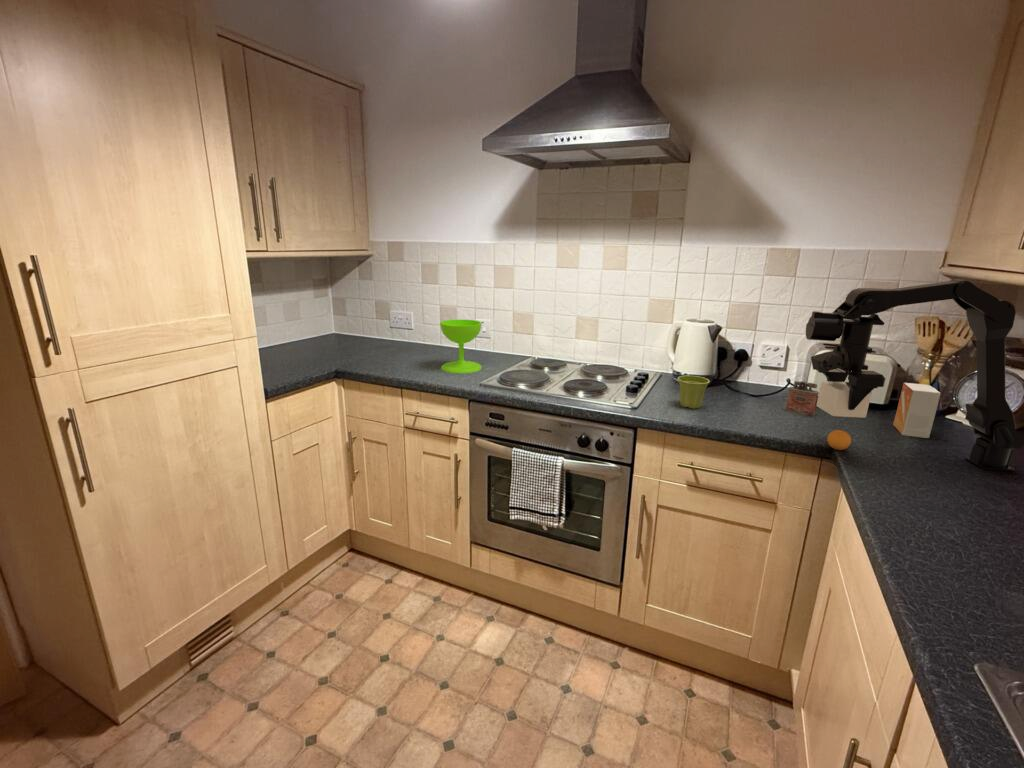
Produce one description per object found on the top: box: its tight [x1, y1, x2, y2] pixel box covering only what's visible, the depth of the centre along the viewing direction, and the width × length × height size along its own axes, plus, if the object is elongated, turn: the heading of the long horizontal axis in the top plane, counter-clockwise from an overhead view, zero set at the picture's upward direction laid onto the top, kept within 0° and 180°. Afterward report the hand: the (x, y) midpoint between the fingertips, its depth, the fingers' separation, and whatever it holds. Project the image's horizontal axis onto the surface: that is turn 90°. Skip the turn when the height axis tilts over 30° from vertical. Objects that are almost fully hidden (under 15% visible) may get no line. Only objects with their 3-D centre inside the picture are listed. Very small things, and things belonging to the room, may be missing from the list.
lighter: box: [784, 380, 819, 417], centre depth 153 cm, size 8×3×10 cm, turn 47°
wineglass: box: [439, 318, 483, 374], centre depth 197 cm, size 16×16×18 cm
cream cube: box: [815, 380, 873, 419], centre depth 124 cm, size 8×8×7 cm
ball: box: [826, 429, 852, 451], centre depth 127 cm, size 5×5×5 cm
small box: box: [892, 382, 941, 439], centre depth 139 cm, size 8×6×13 cm
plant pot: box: [677, 375, 711, 409], centre depth 158 cm, size 9×9×9 cm
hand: (841, 404), depth 125 cm, fingers closed on cream cube, 8 cm apart
